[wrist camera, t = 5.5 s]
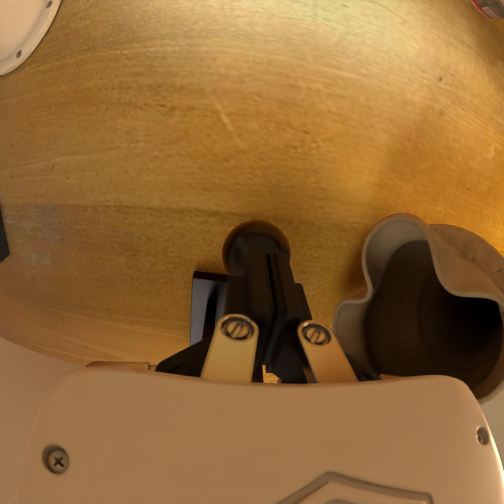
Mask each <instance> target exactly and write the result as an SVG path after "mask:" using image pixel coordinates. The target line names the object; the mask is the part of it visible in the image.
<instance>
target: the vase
mask: <svg viewBox="0 0 504 504" xmlns="http://www.w3.org/2000/svg"><path fill="white" fill-rule="evenodd" d="M361 261H362V269H363V273H364V276H365V280H366V283H367V286H368V289H367V290H366V291H364V292H362V293H360V294H357V295H354V296H351V297H348V298H345V299H343V300H341V301H340V302H339V303H338V305H337V307H336V309H335V312H334V317H333V325H332V331H333V332H334V334H335V336H336V338H337V340H338V342H339V344H340V346H341V348H342V350H343V351H344V352H345V353H346V354H348V355H349V356H351V357H352V358H354V359H356V360H357V361H359V362H360V363H362V364H363V365H365V366H366V367H368V368H370V369H371V370H373V371H374V372H375V373H376V374H377V375H378V376H380V375H381V374H385V375H393V376H402V377H412V376H422V375H443V376H449V377H453V378H456V379H459V380H461V381H463V382H464V383H465V384H466V385H467V386H468V387H469V389H470V390H471V392H472V393H473V395H474V397H475V399H476V400H477V402H478V404H479V406H480V407H481V406H482V405H483V404H485V403H486V402H488V401H490V400H491V399H493V398H494V397H495V396H496V395H498V394H499V393H500V392H501V391H502V390H503V388H504V257H503V256H502V255H501V254H500V253H499V252H498V251H497V250H496V249H495V248H494V247H493V246H491V245H490V244H489V243H488V242H486V241H485V240H484V239H482V238H481V237H479V236H478V235H476V234H474V233H472V232H470V231H467V230H465V229H463V228H459V227H456V226H451V225H446V224H430V225H427V224H426V223H425V222H424V221H422V220H421V219H420V218H418V217H416V216H414V215H412V214H407V213H398V214H393V215H390V216H388V217H386V218H384V219H383V220H381V221H380V222H378V223H377V224H376V225H375V226H374V227H373V229H372V230H371V231H370V232H369V234H368V236H367V238H366V240H365V242H364V245H363V249H362V258H361Z"/></svg>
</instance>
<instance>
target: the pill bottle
mask: <svg viewBox="0 0 504 504" xmlns="http://www.w3.org/2000/svg"><path fill="white" fill-rule="evenodd" d="M470 1H471V3H472V4H473V5H474V7H475V8H476V9H477V10H478V11H479V12H480V13H481V14H482V15H484V16H485V17H487V18H504V0H470Z"/></svg>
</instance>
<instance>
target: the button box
mask: <svg viewBox="0 0 504 504" xmlns="http://www.w3.org/2000/svg"><path fill="white" fill-rule="evenodd" d="M9 254H10V253H9V249H8V245H7V241H6V237H5V232H4V228H3V223H2V218H1V212H0V263H1V262H2V261H3V260H4V259H5V258H6V257H7V256H8V255H9Z"/></svg>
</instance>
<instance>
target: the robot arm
mask: <svg viewBox="0 0 504 504" xmlns="http://www.w3.org/2000/svg"><path fill="white" fill-rule="evenodd" d="M60 2H61V0H0V75H4V74H7V73H9V72H11V71H13V70H14V69H16V68H17V67H18V66H19V65H20V64H22V63H23V62H24V61H25V60H26V59H27V57H28V56H29V55H30V54H31V53H32V52H33V50H34V49H35V48H36V47H37V45H38V44H39V43H40V41H41V39H42V38H43V37H44V35H45V34H46V32H47V30H48V28H49V26H50V25H51V23H52V21H53V19H54V17H55V15H56V13H57V10H58V7H59V4H60ZM260 357H261V365H265V366H266V373H273V374H274V375H276V376H277V383H256V382H251V381H252V374H253V373H254V372H256V369H257V366H258V363H259V360H260ZM66 452H67V453H66ZM15 504H504V472H503V468H502V464H501V461H500V457H499V454H498V451H497V448H496V445H495V442H494V439H493V437H492V434H491V431H490V429H489V426H488V424H487V421H486V419H485V417H484V415H483V412H482V410H481V408H480V406H479V404H478V402H477V400H476V399H475V397H474V395H473V393H472V392H471V390H470V389H469V387H468V386H467V385H466V384H465V383H464V382H463V381H461V380H459V379H456V378H453V377H449V376H443V375H422V376H412V377H402V376H393V375H385V374H381V375H380V376H378V375H377V374H376V373H375V372H374V371H373V370H371V369H370V368H368V367H366V366H365V365H363V364H362V363H360V362H359V361H357V360H356V359H354V358H352V357H351V356H349V355H348V354H346V353H345V352H344V351H343V350H342V348H341V346H340V344H339V342H338V340H337V338H336V336H335V334H334V332H333V331H332V330H331V328H330V327H328V326H327V325H326V324H324V323H322V322H319V321H314V320H312V317H311V313H310V310H309V306H308V303H307V300H306V296H305V293H304V289H303V286H302V284H300V283H295V281H294V278H293V274H292V270H291V267H290V263H289V260H288V256H287V254H286V253H279V252H274V253H273V255H270V254H269V256H268V260H267V257H266V254H263V253H262V250H257V249H249V251H248V255H247V261H246V266H245V272H244V277H241V276H233V275H229V277H228V283H227V290H226V298H225V309H224V316H223V317H222V318H220V319H219V321H218V322H217V325H216V328H215V331H214V333H213V334H212V335H210V336H208V337H206V338H204V339H203V340H201V341H199V342H197V343H195V344H193V345H191V346H190V347H188V348H186V349H184V350H182V351H180V352H178V353H176V354H174V355H173V356H171V357H169V358H167V359H165V360H163V361H162V362H160V363H159V364H158V365H149V362H113V361H94V362H91V363H89V364H88V365H87V366H86V367H84V368H79V369H75V370H71V371H69V372H67V373H65V374H64V375H63V376H61V377H60V378H59V379H58V380H57V381H56V382H55V383H54V385H53V386H52V387H51V389H50V390H49V392H48V394H47V396H46V397H45V399H44V401H43V403H42V406H41V408H40V410H39V412H38V414H37V417H36V419H35V422H34V425H33V428H32V430H31V433H30V436H29V439H28V443H27V446H26V450H25V453H24V457H23V462H22V465H21V470H20V474H19V479H18V486H17V493H16V500H15Z"/></svg>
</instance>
